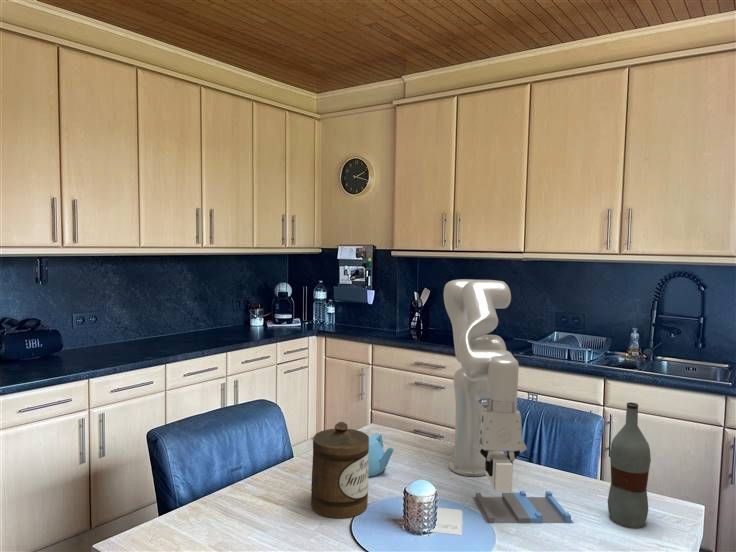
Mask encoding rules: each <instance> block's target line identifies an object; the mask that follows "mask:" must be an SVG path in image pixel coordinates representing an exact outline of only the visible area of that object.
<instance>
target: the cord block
mask: <svg viewBox="0 0 736 552" xmlns="http://www.w3.org/2000/svg"><path fill="white" fill-rule="evenodd" d="M492 461H493V475H492V476H489V474H488V472H486V475H485V476H486V477H487V479H488V481H489V483H490V485H491V486H492V488H493V490H494V491H495V492H496V493H513V492H512V491H513V490H512V489H513V488H512V487H513V472H514V471H513V470H514V465H513V464H514V463H513V464H512V463H511V461H510V460H509V459H508V457H507V454H506V452H505V451H493V455H492Z"/></svg>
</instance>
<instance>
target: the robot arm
mask: <svg viewBox="0 0 736 552" xmlns="http://www.w3.org/2000/svg"><path fill="white" fill-rule="evenodd" d="M511 301H512V294H511V289H510V287H509V286H508V284H507V283H506V282H505V281H504V280H503V281H502V280H496V279H495V280H494V279H469V278H468V279H466V278H464V279H463V278H462V279H453V280H450V281H448V282H446V284H445V285H444V288H443V302H444V306H445V310H446V313H447V316H448V317H449V319H450V323H451V326H452V336H453V345H454V347H453V348H454V354H455V357H456V358H455V359H456V360H457V362H458V363H460V364H461V368H459V369H457V370H456V371H455V373H454V375H453V389H454V397H455V398H454V399H455V418H454V419H455V420H454V451H453V459H451V460H450V461H449V462H448V468H449V470H451V471H452V472H453V473H456V474H458V475H461V476H465V477H482V476H486V472H488V474H489V476H492V475H493V461H492V455H493V451H503V452H505V453H506V456H507V457H508V459H509V460H510V461H511V463H512V464H514V461H515V459H516V458H517V457H518V456H519V455H520V454H521V453H523V452H525V451H526V450H527V449H528V448H527V446H526V444H525V442H524V440H523V428H522V427H523V426H522V417H521V412H520V411H519V410H518V409H517V408H518V386H519V369H520V368H519V366H520V364H519V361H518V360H517V359H516V358H515V357H514V355H513V354H512V352H511V351H509V350H507V346H506V343H505V341H504V339H503V338H502V337H501V336H499V335H496V334H490V333H492V332H493V331H494V330H495V329H497V327H498V324H499V318H498V314H497V311H496V309H507V308H508V307H509V306H510V303H511ZM480 400H481V401H480Z"/></svg>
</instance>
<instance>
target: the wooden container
mask: <svg viewBox="0 0 736 552" xmlns="http://www.w3.org/2000/svg"><path fill="white" fill-rule="evenodd" d="M348 427H349V425H348V424H347V423H346V422H343V421H339V422H337V423H335V425H334V428H329V429H323V430H321V431H319V432H317V433H315V434H314V435H313V442H312V467H311V471H312V472H311V490H310V491H311V494H310V495H311V496H310V497H311V499H310V505H311V508H312V510H313V511H314V512H315V513H316V514H318V515H320V516H322V517H326V518H332V519H349V518H353V517H356V516H358V515H361V514H363V513H364V512H365V511H366V510H367V508H368V500H369V499H368V498H369V477H368V461H369V437H370V436H369V437H368V435H369V434H368V433H366V432H363V431H360V430H357V429H354V428H353V429H352V428H348ZM367 434H368V435H367Z"/></svg>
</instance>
